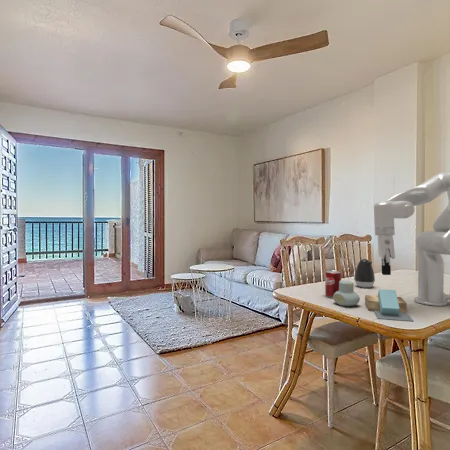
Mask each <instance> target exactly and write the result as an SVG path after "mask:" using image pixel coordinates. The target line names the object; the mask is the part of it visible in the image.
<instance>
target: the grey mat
mask: <svg viewBox="0 0 450 450" xmlns="http://www.w3.org/2000/svg"><path fill="white" fill-rule="evenodd" d="M373 313H374V315H375V317H376V318H377V320H385V321H386V320H388V321H389V320H390V321H401V322H413V321H414V319H413V318H412V317H411V316H410V315H409V314H408V312H407V313H403V312H399V313H398V315H389V314H381V311H373Z"/></svg>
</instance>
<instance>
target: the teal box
mask: <svg viewBox="0 0 450 450" xmlns="http://www.w3.org/2000/svg"><path fill="white" fill-rule="evenodd" d="M377 296H378V299H379V305H380V311H381V314H389V315H398V313H399V309H400V308H399V304H398V300H397V297H398V296H397V292H396V289H378V292H377Z"/></svg>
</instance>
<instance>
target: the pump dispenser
mask: <svg viewBox="0 0 450 450" xmlns="http://www.w3.org/2000/svg"><path fill="white" fill-rule="evenodd" d="M372 264H373V261H370V260H369V259H366V258H362V259H360V260H359V261H358V263H357V266H356V269H355V273H354V278H353V279H354V282H355V284H356V286H358V287H360V288H362V289H363V288H364V289H367V288H368V289H369V288H372V287H373V286H374V285H375V282H376V278H375V277H376V276H375V271H374V267H373V265H372Z"/></svg>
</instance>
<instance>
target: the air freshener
mask: <svg viewBox="0 0 450 450" xmlns="http://www.w3.org/2000/svg"><path fill="white" fill-rule="evenodd" d="M354 288H355V287H354V282H353V281H351V280H350V281H349V280H341V281H340V282H339V291H337V292H335V293H334V295H333V298H332V299H333V301H334V302H335V303H336V304H338V305H339V306H340V307H354V306H356V305H358V304H359V302H360V301H361V297H360V295H359V294H358V293H356V292H355V291H354Z"/></svg>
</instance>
